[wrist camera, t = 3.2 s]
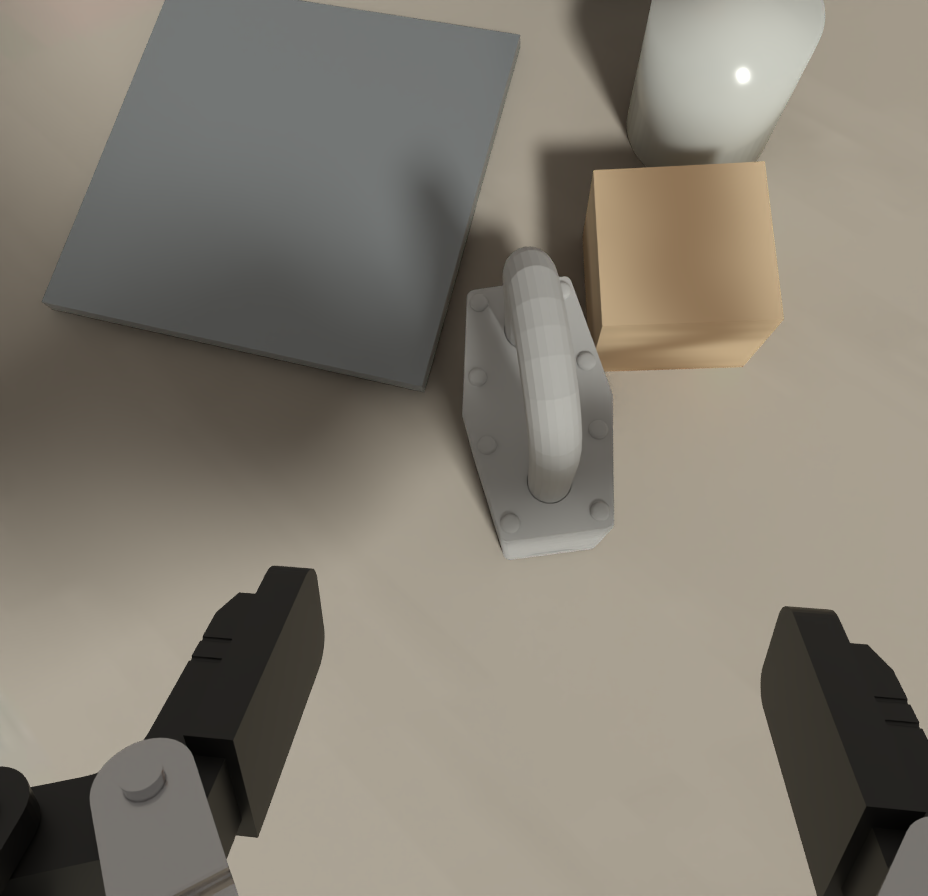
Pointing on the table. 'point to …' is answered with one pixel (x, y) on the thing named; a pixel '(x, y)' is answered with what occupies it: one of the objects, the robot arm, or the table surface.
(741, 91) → the white rounded capsule
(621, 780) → the table surface
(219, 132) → the mat
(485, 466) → the padlock
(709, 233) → the oak block
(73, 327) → the table surface
